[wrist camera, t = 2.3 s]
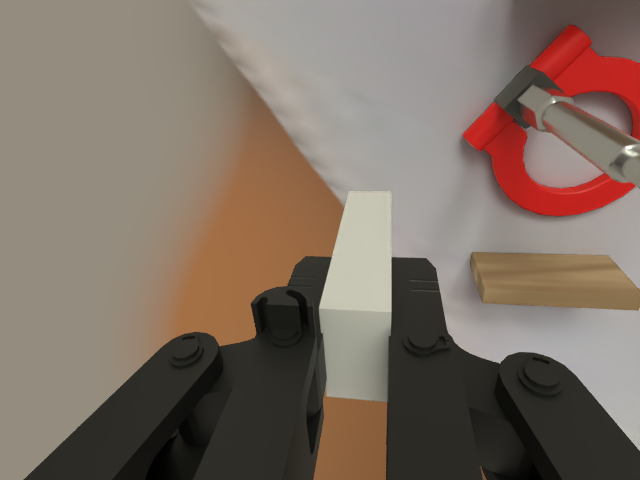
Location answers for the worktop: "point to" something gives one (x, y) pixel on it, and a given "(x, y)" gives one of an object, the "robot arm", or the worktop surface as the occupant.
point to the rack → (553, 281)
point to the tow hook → (563, 126)
